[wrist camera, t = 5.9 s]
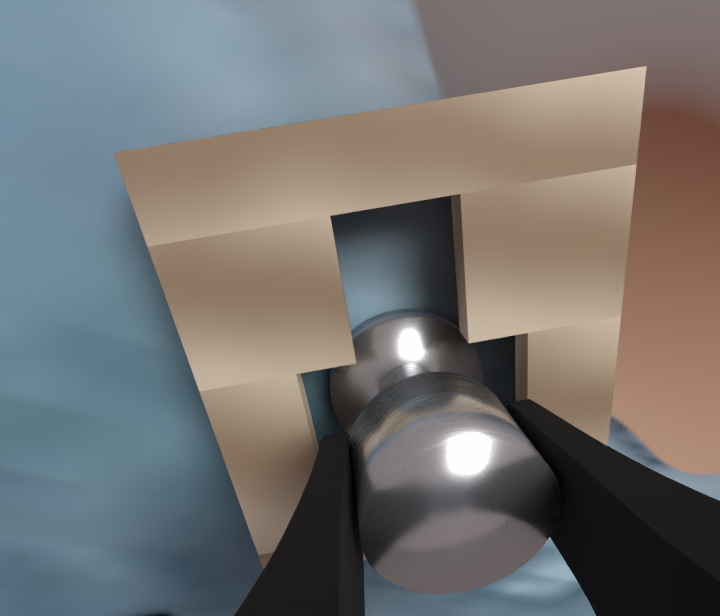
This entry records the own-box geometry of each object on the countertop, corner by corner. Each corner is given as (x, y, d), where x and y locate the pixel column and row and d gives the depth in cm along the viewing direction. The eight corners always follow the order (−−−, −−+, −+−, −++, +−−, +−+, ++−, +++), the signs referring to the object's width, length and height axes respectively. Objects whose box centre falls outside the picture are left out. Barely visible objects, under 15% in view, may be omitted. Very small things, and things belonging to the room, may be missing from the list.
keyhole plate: (562, 466, 16) (600, 515, 14) (274, 519, 16) (266, 578, 14) (581, 83, 11) (646, 66, 9) (156, 152, 11) (113, 153, 9)
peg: (478, 421, 15) (574, 576, 10) (344, 450, 15) (363, 626, 9) (469, 294, 13) (583, 397, 8) (315, 326, 13) (317, 455, 7)
